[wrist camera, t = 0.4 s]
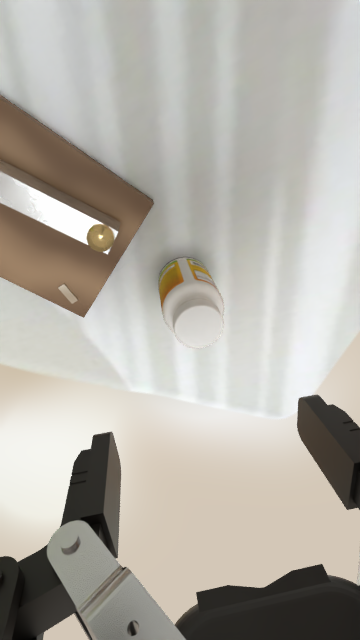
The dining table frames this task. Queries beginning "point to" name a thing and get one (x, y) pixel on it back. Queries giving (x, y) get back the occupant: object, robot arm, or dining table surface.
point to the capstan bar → (56, 208)
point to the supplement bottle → (191, 303)
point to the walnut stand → (48, 243)
